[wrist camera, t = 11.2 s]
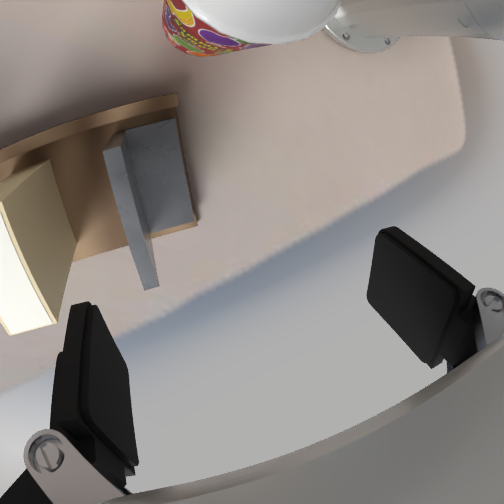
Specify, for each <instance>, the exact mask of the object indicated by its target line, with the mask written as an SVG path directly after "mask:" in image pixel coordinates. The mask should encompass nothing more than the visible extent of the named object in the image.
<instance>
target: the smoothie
mask: <svg viewBox="0 0 504 504" xmlns="http://www.w3.org/2000/svg"><path fill="white" fill-rule="evenodd" d="M340 2H341V0H164V6H163V14H162V24H163V29H164V32H165V34H166V37H167V38H168V39H169V41H170V42H171V43H172V44H173V45H174V46H175V47H176V48H178V49H180V50H181V51H183V52H185V53H186V54H191V55H195V56H199V57H202V56H215V55H219V54H224V53H228V52H233V51H238V50H243V49H248V48H254V47H260V46H266V45H272V44H274V45H280V44H285V43H290V42H295V41H300V40H304V39H306V38H308V37H309V36H311V35H313V34H315V33H316V32H318V31H320V30H322V29H324V27H325V26H326V25H327V24H328V23H329V21H330V20H331V19H332V18H333V17H334V16H335V14H336V13H337V11H338V8H339V5H340Z"/></svg>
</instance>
